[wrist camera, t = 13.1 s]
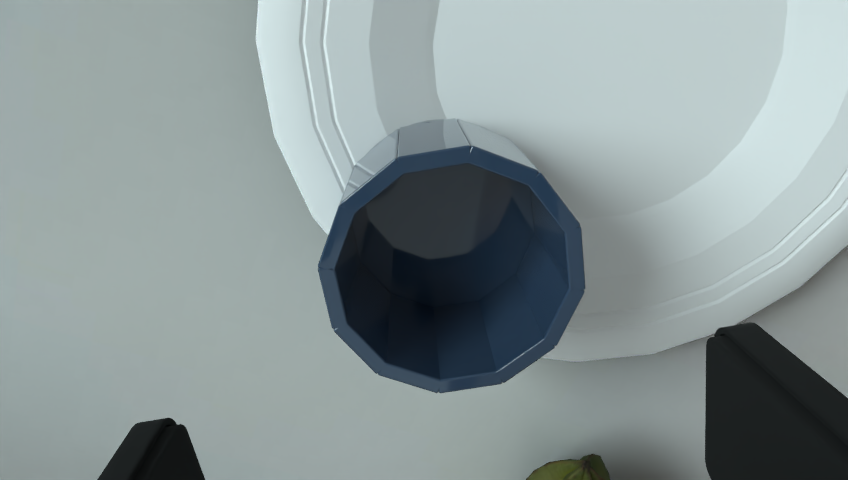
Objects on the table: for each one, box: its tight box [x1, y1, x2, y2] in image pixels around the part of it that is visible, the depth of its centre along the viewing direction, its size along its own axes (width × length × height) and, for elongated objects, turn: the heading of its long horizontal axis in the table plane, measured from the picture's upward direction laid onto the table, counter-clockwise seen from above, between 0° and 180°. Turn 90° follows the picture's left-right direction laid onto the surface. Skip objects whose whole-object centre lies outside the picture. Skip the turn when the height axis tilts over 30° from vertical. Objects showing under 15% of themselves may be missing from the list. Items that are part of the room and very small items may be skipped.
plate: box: [256, 0, 848, 362], centre depth 21 cm, size 25×25×2 cm
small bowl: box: [318, 118, 586, 393], centre depth 19 cm, size 8×8×6 cm
